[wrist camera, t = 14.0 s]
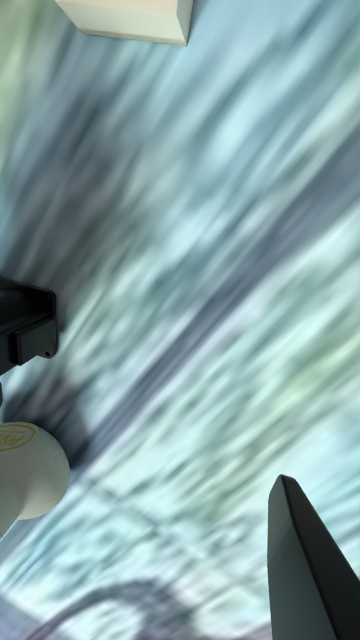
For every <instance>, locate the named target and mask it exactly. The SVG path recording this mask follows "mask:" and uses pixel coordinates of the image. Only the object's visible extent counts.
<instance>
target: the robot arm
mask: <svg viewBox="0 0 360 640" xmlns="http://www.w3.org/2000/svg"><path fill="white" fill-rule="evenodd" d="M48 295H49V296H50V299H49V297H48ZM49 353H50V354H49ZM55 354H56V296H55V294H54V293H53V292H52V291H50V290H46V289H42V288H39V287H35V286H31V285H28V284H24V283H20V282H16V281H13V280H9V279H5V278H1V277H0V376H1V375H2V374H4V373H6V372H7V371H9V370H10V369H12V368H13V367H15V366H17V365H18V366H21V365H23V364H24V363H26V362H28V361H29V360H31V359H32V358H34V357H35V356H37V355H38V356H41V357H44V358H48V359H51V358H52V357H54V356H55ZM2 403H3V394H2V384H1V382H0V407H1V405H2ZM267 568H268V585H269V598H270V611H271V625H272V638H273V640H360V580H359V579H358V577H357V576H356V574H355V572H354V571H353V569H352V568H351V566H350V565H349V563H348V561H347V560H346V558H345V557H344V555H343V553H342V552H341V550H340V549H339V547H338V546H337V544H336V542H335V541H334V539H333V538H332V536H331V534H330V533H329V531H328V530H327V528H326V527H325V525H324V523H323V522H322V520H321V519H320V517H319V515H318V514H317V512H316V511H315V509H314V508H313V506H312V504H311V503H310V501H309V500H308V498H307V496H306V495H305V493H304V492H303V490H302V489H301V487H300V485H299V484H298V482H297V481H296V480H295V479H294V478H292V477H289V476H286V475H283V474H280V475H279V476H278V477H277V479H276V481H275V483H274V485H273V487H272V489H271V491H270V494H269V500H268V548H267Z"/></svg>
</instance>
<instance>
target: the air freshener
mask: <svg viewBox="0 0 360 640" xmlns="http://www.w3.org/2000/svg"><path fill="white" fill-rule="evenodd" d="M69 479H70V468H69V463H68V459H67V457H66V454H65V452H64V450H63V448H62V447H61V445H60V444H59V443H58V441H57V440H56V439H55V438H54V437H53V436H52V435H51V434H49V433H48V432H47V431H45V430H44V429H42V428H40V427H38V426H36V425H34V424H31V423H27V422H9V423H4V424H0V539H1V538H2V537H3V535H4V534H5V533H6V532H7V530H8V529H9V528H10V526H11V525H12V524H13V523H14V521H15V520H16V519H19V520H21V519H30V518H35V517H38V516H41V515H43V514H45V513H47V512H49V511H50V510H52V509H53V508H54V507H55V506H56V505H57V504H58V503H59V502H60V501H61V500H62V498H63V496H64V495H65V493H66V491H67V488H68V484H69Z"/></svg>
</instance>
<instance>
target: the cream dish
mask: <svg viewBox="0 0 360 640" xmlns="http://www.w3.org/2000/svg"><path fill="white" fill-rule="evenodd" d="M55 2H56V3H57V4H58V5H59V6H60V8H61V9H62V10H63V11H64V12H65V13H66V15H67V16H68V17H69V18H70V19H71V20H72V22H73V23H74V24H75V25H76V26H77V28H78V29H79V30H80V31H81V32H82V33H83V34H89V35H98V36H106V37H114V38H122V39H131V40H139V41H147V42H156V43H164V44H172V45H181V46H187V40H188V33H189V26H190V20H191V13H192V6H193V0H55Z"/></svg>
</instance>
